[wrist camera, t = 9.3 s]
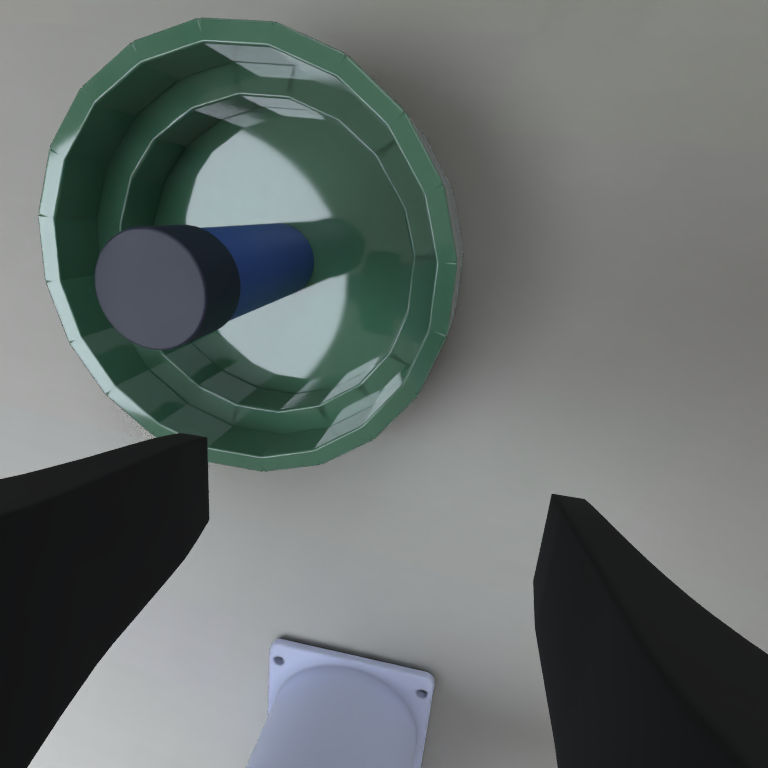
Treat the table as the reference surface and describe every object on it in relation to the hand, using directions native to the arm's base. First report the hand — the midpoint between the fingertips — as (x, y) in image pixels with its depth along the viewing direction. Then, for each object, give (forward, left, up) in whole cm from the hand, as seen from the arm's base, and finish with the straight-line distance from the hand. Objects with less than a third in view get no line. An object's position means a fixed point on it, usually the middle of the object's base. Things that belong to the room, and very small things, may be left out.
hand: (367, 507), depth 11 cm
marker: (+4, +6, -10) cm, 12 cm away
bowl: (+4, +6, -10) cm, 12 cm away
